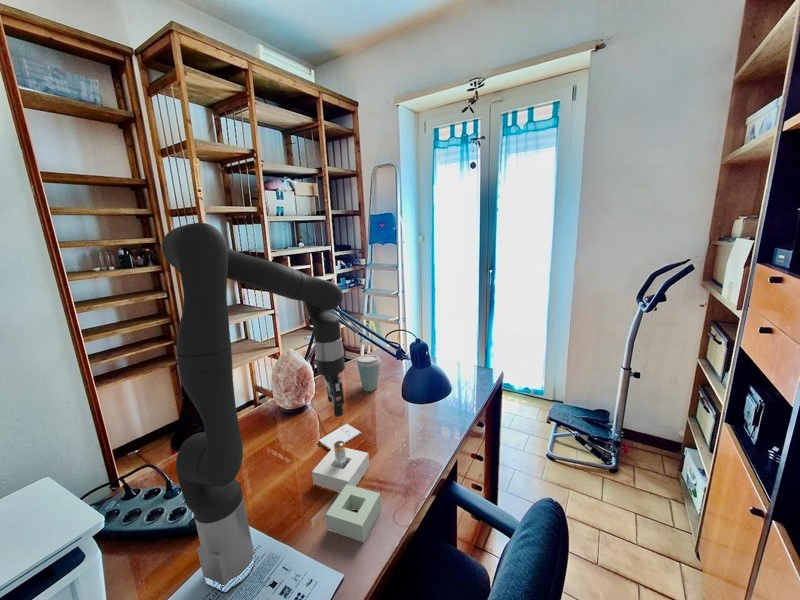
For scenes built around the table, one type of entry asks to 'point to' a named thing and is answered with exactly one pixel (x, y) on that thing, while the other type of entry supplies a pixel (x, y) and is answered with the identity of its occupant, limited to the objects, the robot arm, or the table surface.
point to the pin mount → (352, 522)
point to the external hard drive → (340, 436)
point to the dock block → (341, 470)
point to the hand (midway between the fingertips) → (335, 408)
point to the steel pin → (340, 454)
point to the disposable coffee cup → (369, 371)
